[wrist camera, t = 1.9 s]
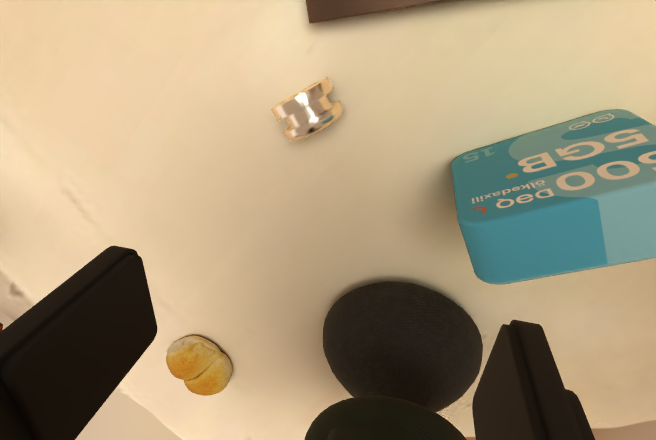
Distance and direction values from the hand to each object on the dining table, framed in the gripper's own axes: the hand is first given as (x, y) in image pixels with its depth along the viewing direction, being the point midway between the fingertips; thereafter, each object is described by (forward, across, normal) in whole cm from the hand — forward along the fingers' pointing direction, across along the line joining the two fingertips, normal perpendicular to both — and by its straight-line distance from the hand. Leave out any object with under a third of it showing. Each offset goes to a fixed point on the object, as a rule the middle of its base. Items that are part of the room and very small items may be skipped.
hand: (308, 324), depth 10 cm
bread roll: (+26, +20, +36) cm, 49 cm away
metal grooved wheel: (+25, +6, +1) cm, 26 cm away
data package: (+25, -12, +3) cm, 28 cm away
